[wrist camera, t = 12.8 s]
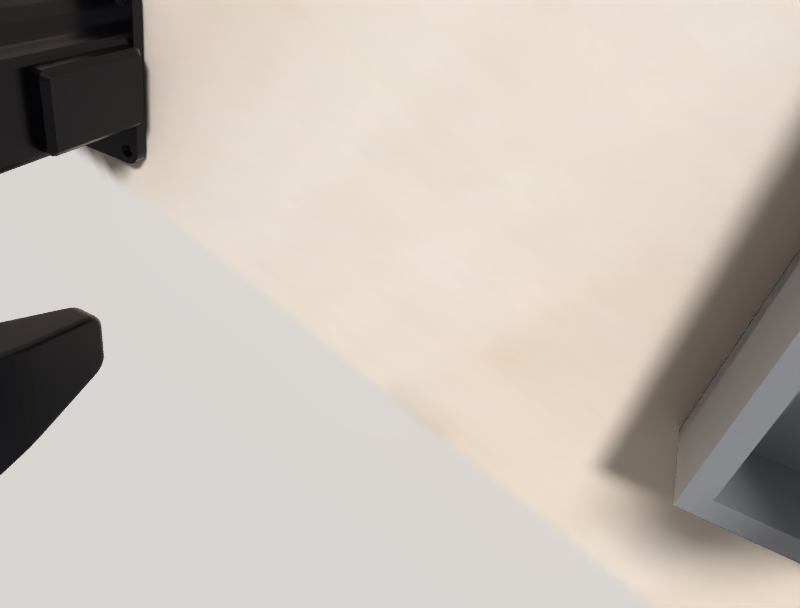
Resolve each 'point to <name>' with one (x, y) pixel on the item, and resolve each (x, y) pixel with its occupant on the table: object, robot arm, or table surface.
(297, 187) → the table surface
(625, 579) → the table surface
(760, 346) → the bin
